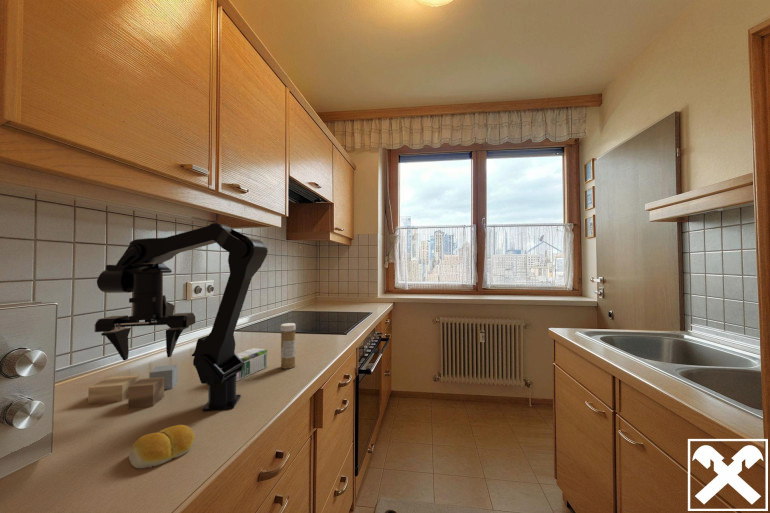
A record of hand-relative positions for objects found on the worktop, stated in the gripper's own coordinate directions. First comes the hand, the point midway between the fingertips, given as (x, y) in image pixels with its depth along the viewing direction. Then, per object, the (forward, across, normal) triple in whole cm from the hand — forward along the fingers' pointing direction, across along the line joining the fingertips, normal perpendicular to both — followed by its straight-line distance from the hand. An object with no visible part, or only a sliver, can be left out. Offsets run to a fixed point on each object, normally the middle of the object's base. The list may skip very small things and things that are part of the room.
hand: (147, 358), depth 73 cm
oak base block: (+11, +10, -6) cm, 16 cm away
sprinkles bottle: (+11, -30, -19) cm, 37 cm away
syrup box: (+8, -21, -22) cm, 31 cm away
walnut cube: (+10, 0, 0) cm, 11 cm away
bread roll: (+11, -14, +23) cm, 29 cm away
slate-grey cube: (+10, +1, -10) cm, 15 cm away
